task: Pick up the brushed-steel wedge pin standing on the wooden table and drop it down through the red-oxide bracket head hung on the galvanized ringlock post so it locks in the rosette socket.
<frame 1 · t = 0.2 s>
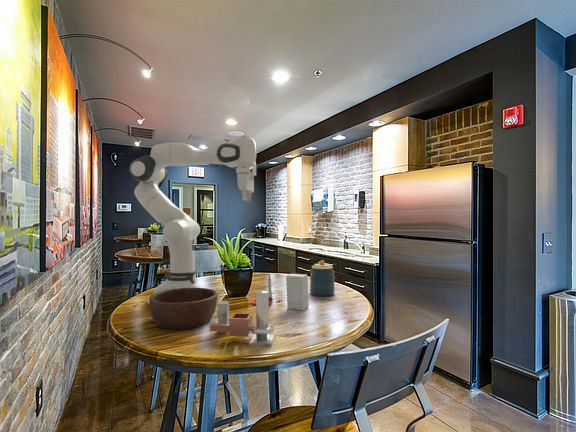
hand: (246, 201, 145), 48 cm above the table, fingers open, 8 cm apart
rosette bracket: (241, 340, 101), on the table
wooden bowl: (184, 321, 120), on the table
canister: (322, 294, 163), on the table
wedge pin: (223, 330, 110), on the table
skincare box: (297, 308, 137), on the table
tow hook: (261, 303, 145), on the table
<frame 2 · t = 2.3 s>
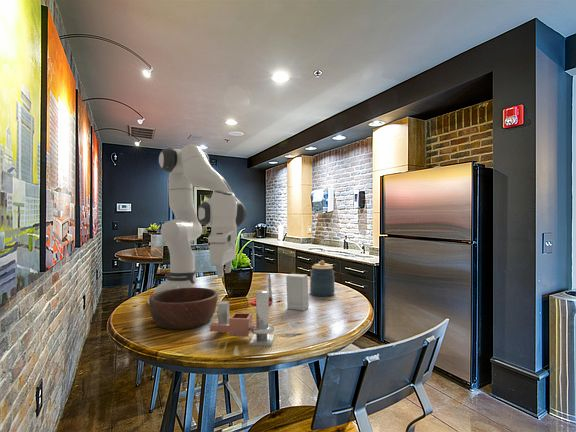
hand: (224, 275, 110), 20 cm above the table, fingers open, 8 cm apart
nothing on the table moved.
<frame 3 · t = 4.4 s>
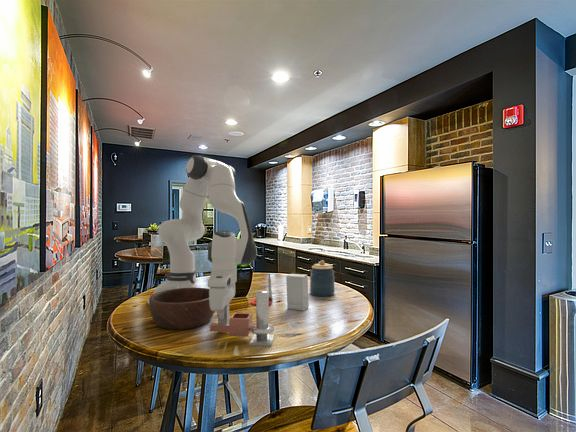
hand: (223, 316, 110), 5 cm above the table, fingers closed on wedge pin, 3 cm apart
wedge pin: (223, 330, 110), on the table, touching gripper
everything else where it was.
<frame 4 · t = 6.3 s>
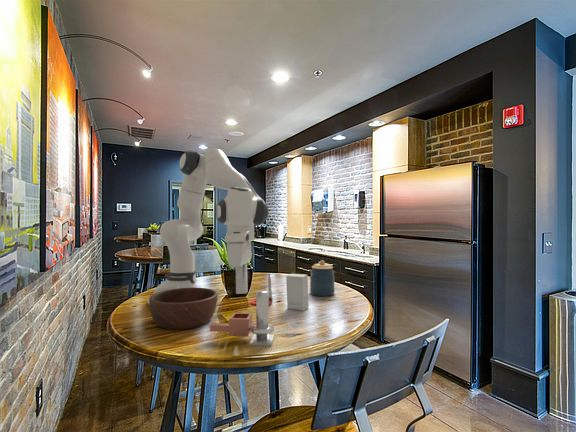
hand: (241, 277, 102), 20 cm above the table, fingers closed on wedge pin, 3 cm apart
wedge pin: (241, 292, 102), point 15 cm above the table, touching gripper
everything else where it was.
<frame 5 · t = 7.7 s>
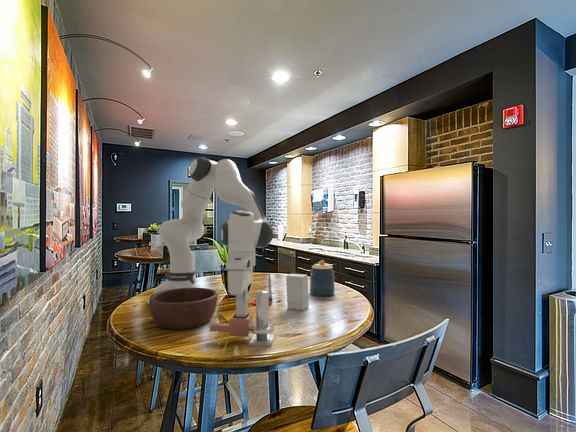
hand: (241, 302, 101), 12 cm above the table, fingers closed on wedge pin, 3 cm apart
wedge pin: (241, 317, 101), point 7 cm above the table, touching gripper
everything else where it was.
when the fingers open (11 cm above the table, at t = 8.3 s): wedge pin drops 6 cm, on the table.
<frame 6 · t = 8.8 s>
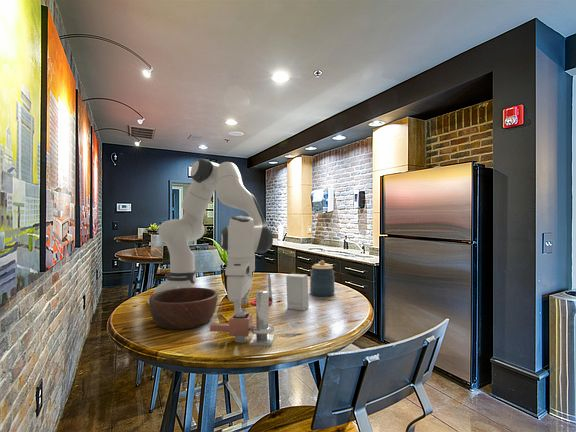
hand: (241, 307, 101), 11 cm above the table, fingers open, 8 cm apart
wedge pin: (241, 340, 101), on the table
everything else where it was.
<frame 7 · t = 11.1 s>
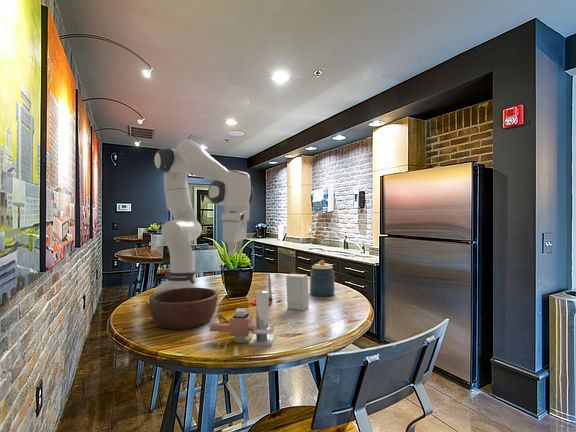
hand: (234, 253, 112), 27 cm above the table, fingers open, 8 cm apart
nothing on the table moved.
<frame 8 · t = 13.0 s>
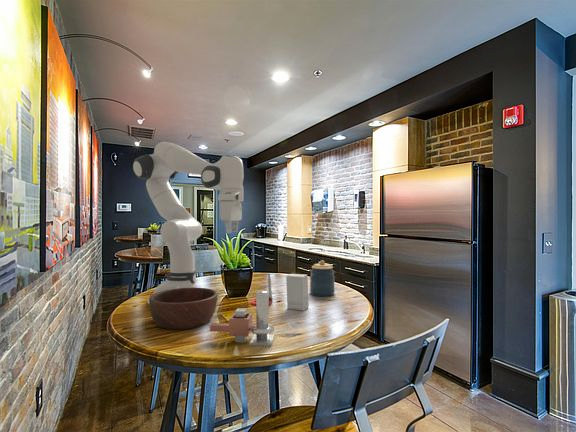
hand: (232, 232, 121), 34 cm above the table, fingers open, 8 cm apart
nothing on the table moved.
at the end: wedge pin 0.1 cm off-centre on the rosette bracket, point 0.0 cm above the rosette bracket's base; the gripper is holding nothing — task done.
